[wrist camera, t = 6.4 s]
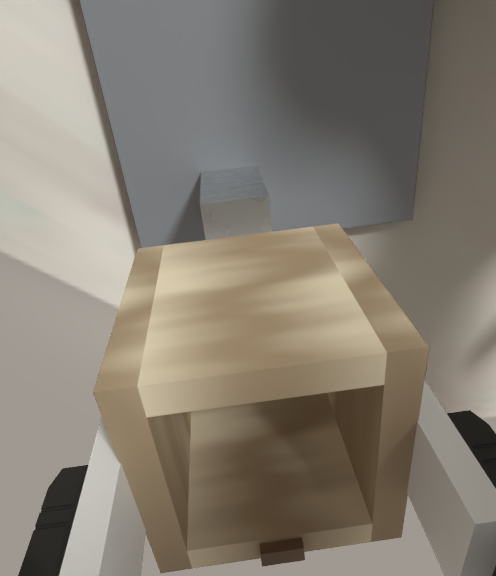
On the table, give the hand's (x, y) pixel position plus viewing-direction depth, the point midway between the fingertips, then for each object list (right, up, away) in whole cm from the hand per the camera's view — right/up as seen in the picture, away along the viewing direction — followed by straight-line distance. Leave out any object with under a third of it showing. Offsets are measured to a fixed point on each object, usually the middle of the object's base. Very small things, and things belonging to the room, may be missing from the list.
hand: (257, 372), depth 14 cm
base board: (+1, +15, +14) cm, 21 cm away
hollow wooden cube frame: (0, +2, +3) cm, 3 cm away
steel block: (-2, +10, +17) cm, 20 cm away
